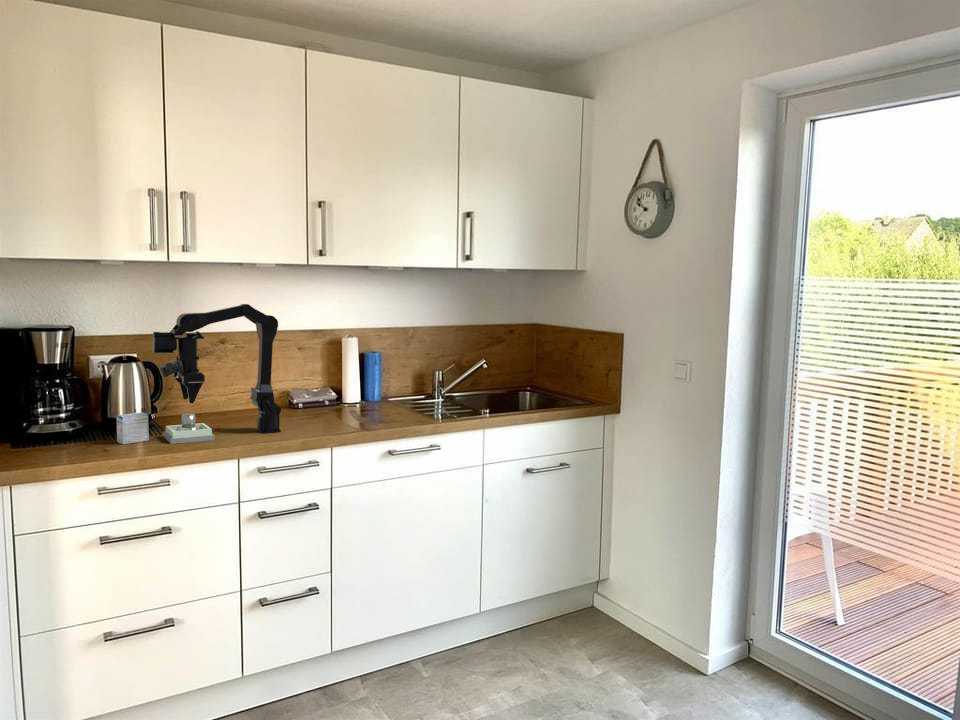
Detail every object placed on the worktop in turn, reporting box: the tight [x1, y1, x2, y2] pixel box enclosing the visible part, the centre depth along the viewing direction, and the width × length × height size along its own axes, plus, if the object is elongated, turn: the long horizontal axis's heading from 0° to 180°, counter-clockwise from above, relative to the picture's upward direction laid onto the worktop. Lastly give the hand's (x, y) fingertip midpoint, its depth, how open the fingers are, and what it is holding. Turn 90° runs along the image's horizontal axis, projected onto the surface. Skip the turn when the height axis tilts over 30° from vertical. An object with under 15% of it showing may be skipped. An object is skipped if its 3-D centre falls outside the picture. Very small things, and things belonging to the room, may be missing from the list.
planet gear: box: [176, 413, 201, 431], centre depth 226 cm, size 7×7×6 cm
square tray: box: [162, 422, 216, 445], centre depth 226 cm, size 13×13×4 cm
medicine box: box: [116, 412, 149, 445], centre depth 219 cm, size 8×4×9 cm, turn 141°
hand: (188, 401), depth 226 cm, fingers open, 9 cm apart
